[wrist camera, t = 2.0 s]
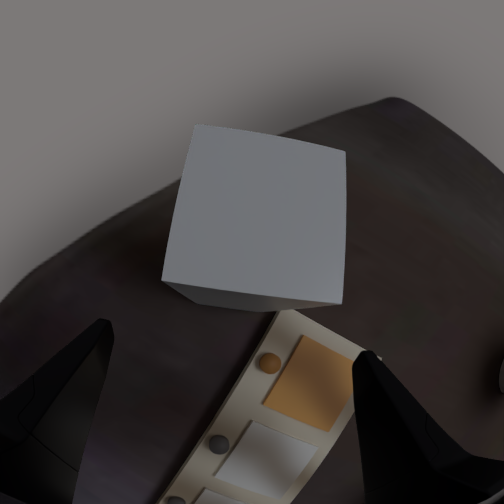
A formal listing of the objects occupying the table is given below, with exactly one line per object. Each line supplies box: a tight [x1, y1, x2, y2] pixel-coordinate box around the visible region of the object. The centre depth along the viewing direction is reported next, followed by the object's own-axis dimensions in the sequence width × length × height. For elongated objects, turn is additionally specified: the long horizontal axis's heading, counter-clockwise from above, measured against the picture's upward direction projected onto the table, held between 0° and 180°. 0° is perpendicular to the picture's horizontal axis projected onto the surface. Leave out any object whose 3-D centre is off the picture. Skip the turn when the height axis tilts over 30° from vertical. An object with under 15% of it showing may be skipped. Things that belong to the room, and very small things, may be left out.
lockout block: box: [161, 124, 346, 312], centre depth 14 cm, size 4×4×14 cm
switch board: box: [155, 309, 382, 504], centre depth 17 cm, size 22×9×2 cm, turn 150°
